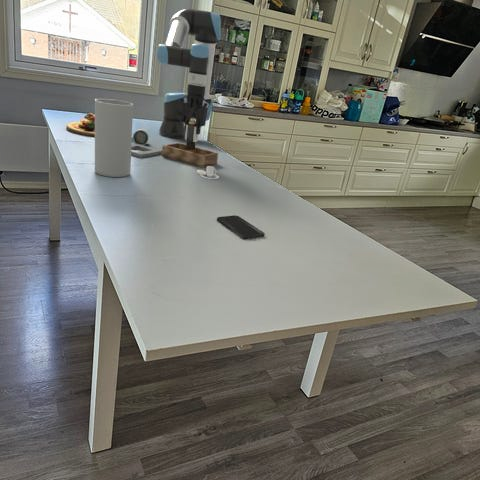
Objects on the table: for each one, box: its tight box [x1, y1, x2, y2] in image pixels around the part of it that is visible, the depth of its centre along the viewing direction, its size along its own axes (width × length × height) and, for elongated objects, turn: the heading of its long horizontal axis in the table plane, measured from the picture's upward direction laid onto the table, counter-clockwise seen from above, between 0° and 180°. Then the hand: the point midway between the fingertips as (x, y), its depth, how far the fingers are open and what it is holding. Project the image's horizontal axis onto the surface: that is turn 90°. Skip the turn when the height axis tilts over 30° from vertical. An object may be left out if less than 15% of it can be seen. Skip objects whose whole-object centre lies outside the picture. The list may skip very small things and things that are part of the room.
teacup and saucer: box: [197, 165, 220, 180], centre depth 164 cm, size 9×8×4 cm
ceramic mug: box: [132, 128, 149, 146], centre depth 199 cm, size 10×8×7 cm
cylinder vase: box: [94, 98, 134, 178], centre depth 144 cm, size 12×12×25 cm
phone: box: [216, 215, 266, 240], centre depth 118 cm, size 8×1×15 cm
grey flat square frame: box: [131, 143, 162, 159], centre depth 184 cm, size 15×15×2 cm
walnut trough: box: [161, 142, 219, 168], centre depth 183 cm, size 22×12×5 cm, turn 62°
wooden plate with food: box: [66, 112, 95, 138], centre depth 212 cm, size 32×32×8 cm
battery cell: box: [185, 119, 197, 150], centre depth 180 cm, size 4×4×13 cm
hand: (191, 140), depth 181 cm, fingers closed on battery cell, 4 cm apart
